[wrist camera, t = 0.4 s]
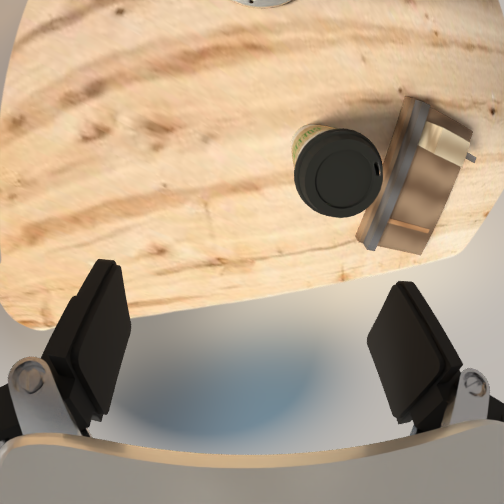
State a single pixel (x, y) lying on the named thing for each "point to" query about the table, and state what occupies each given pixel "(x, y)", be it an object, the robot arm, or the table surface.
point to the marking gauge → (445, 144)
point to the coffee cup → (335, 170)
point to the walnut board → (411, 184)
